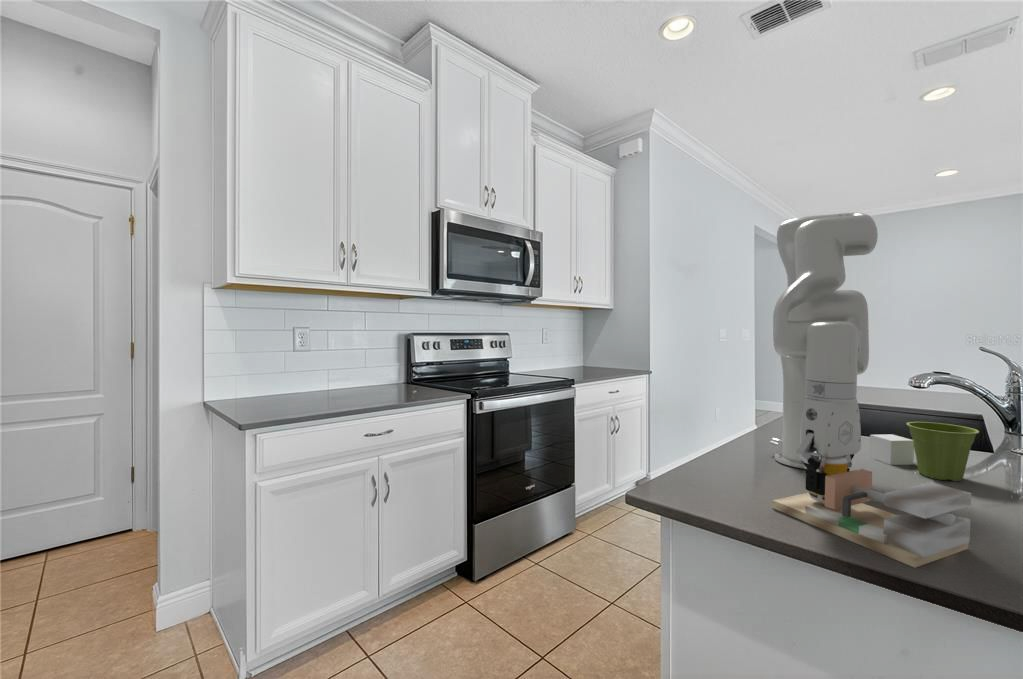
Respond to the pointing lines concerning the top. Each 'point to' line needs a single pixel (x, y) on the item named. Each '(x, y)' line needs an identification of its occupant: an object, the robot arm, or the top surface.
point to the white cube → (892, 449)
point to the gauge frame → (894, 522)
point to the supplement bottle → (830, 472)
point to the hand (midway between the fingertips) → (827, 489)
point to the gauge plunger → (860, 493)
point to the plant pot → (941, 449)
